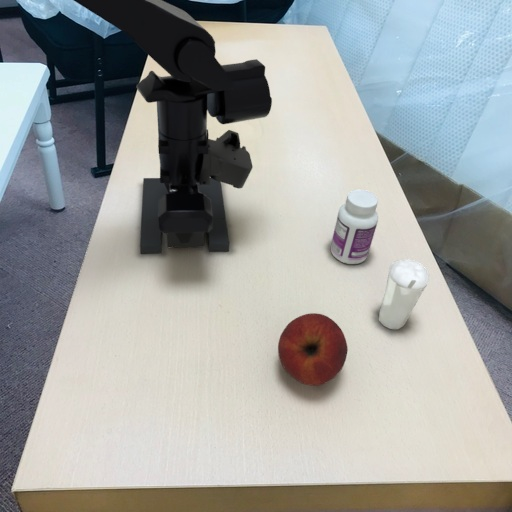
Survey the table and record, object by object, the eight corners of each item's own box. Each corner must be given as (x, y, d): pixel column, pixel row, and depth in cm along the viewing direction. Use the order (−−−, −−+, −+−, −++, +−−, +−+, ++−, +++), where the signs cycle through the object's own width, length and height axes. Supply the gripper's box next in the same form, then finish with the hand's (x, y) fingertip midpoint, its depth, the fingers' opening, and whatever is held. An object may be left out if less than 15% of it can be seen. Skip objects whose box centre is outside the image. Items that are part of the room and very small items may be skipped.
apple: (260, 375, 56) (267, 328, 51) (296, 331, 61) (306, 285, 56) (319, 411, 53) (332, 366, 48) (351, 362, 58) (367, 317, 53)
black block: (167, 247, 69) (166, 230, 67) (166, 224, 73) (166, 207, 71) (204, 246, 70) (204, 229, 68) (202, 223, 73) (202, 207, 71)
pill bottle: (369, 245, 74) (386, 191, 68) (364, 269, 70) (381, 214, 64) (333, 236, 75) (346, 182, 68) (326, 259, 71) (339, 204, 65)
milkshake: (371, 334, 62) (392, 275, 55) (374, 302, 66) (394, 244, 59) (409, 343, 61) (435, 285, 54) (409, 310, 65) (434, 253, 58)
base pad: (140, 254, 69) (139, 245, 68) (144, 185, 80) (143, 177, 79) (228, 251, 71) (229, 243, 70) (219, 185, 82) (220, 177, 81)
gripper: (260, 171, 54) (250, 275, 65) (241, 94, 68) (235, 189, 79) (155, 172, 53) (161, 278, 63) (156, 92, 66) (162, 190, 77)
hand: (184, 229), depth 71 cm, fingers closed on black block, 5 cm apart
